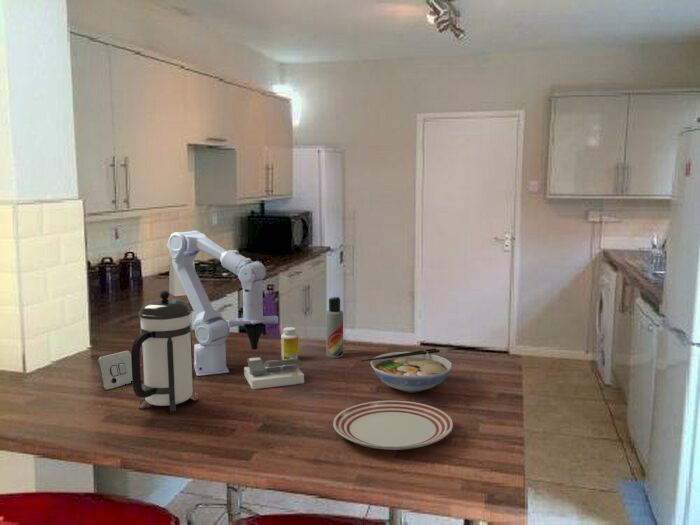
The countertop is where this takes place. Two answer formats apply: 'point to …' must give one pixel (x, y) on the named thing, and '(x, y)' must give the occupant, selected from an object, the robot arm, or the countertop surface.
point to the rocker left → (256, 366)
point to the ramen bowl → (411, 369)
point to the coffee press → (164, 353)
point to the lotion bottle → (334, 329)
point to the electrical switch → (115, 369)
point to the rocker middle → (273, 363)
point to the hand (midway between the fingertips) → (254, 348)
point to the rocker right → (290, 361)
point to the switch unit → (275, 377)
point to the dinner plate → (393, 424)
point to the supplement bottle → (289, 343)
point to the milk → (175, 281)
